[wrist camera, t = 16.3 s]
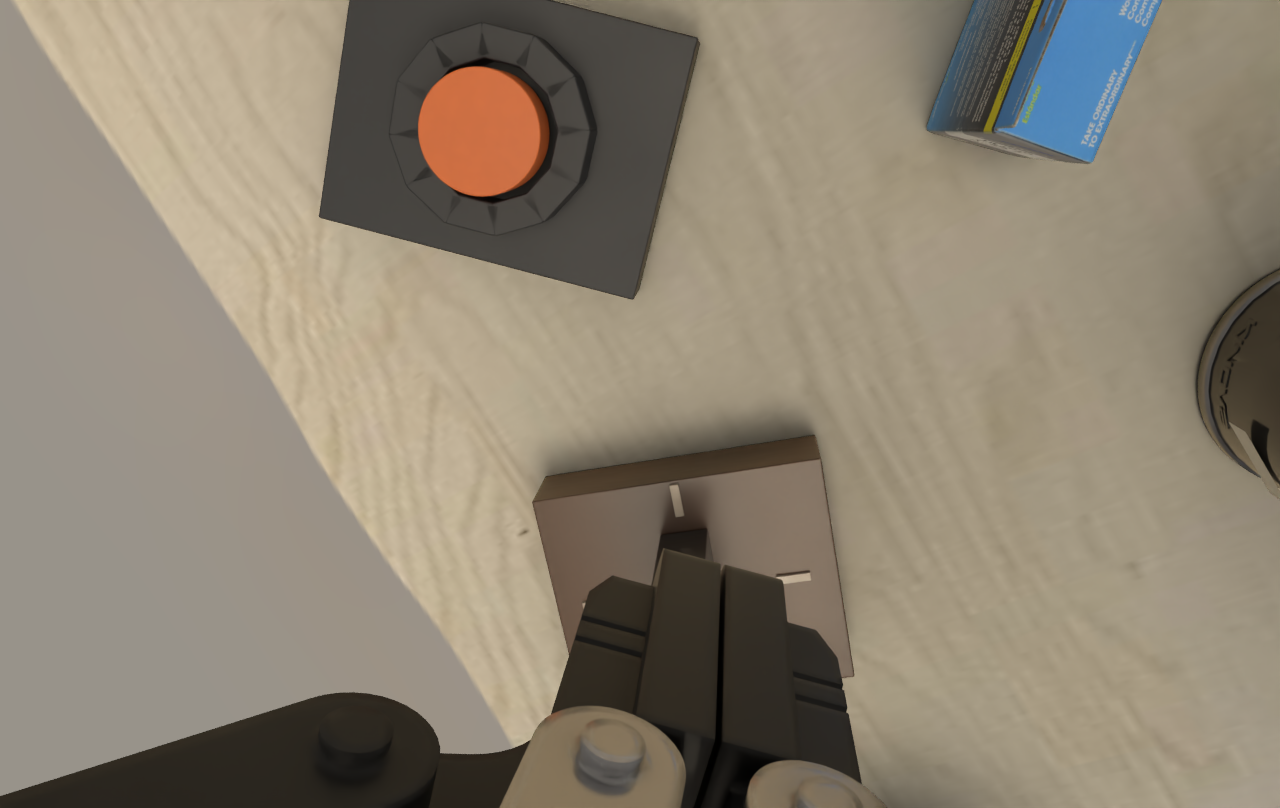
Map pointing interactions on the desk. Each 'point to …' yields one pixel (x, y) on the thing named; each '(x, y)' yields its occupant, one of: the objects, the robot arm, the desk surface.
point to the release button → (483, 131)
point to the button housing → (578, 143)
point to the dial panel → (700, 527)
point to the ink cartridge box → (1041, 75)
